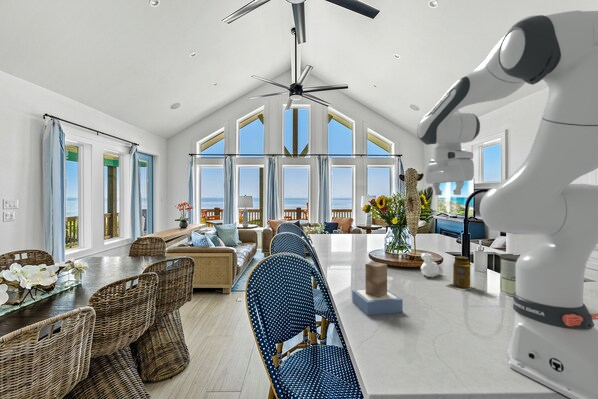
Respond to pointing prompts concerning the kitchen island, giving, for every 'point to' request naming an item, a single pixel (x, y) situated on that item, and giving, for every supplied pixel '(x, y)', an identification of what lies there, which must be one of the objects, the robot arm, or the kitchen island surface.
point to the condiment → (461, 273)
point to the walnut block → (376, 279)
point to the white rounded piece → (429, 266)
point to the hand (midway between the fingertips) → (447, 195)
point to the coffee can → (508, 273)
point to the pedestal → (377, 302)
